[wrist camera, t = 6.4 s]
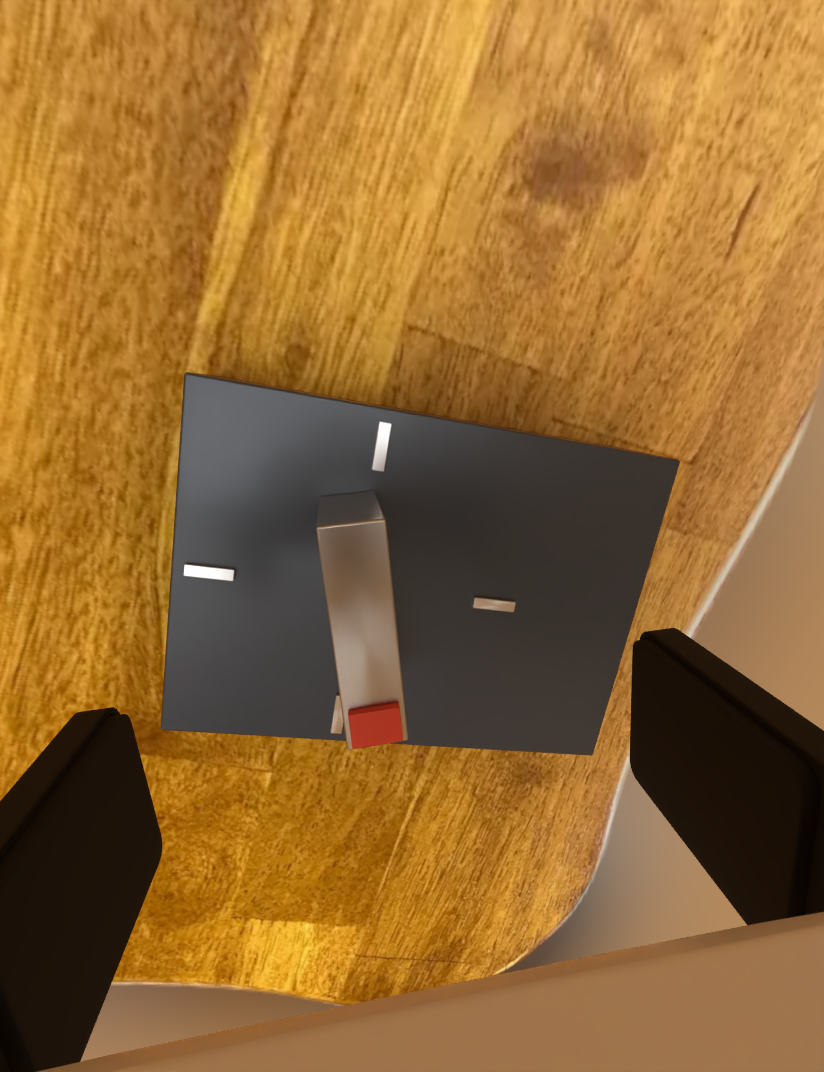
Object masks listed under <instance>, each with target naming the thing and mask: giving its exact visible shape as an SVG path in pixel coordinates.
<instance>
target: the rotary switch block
mask: <svg viewBox="0 0 824 1072" xmlns="http://www.w3.org/2000/svg"><path fill="white" fill-rule="evenodd" d="M679 463H680V461H679V460H677V459H672V458H667V457H662V456H657V455H652V454H647V453H642V452H637V451H632V450H627V449H623V448H617V447H611V446H606V445H600V444H595V443H589V442H583V441H578V440H572V439H566V438H561V437H555V436H550V435H544V434H538V433H533V432H527V431H522V430H516V429H510V428H505V427H499V426H494V425H488V424H482V423H477V422H471V421H466V420H460V419H454V418H449V417H443V416H438V415H432V414H426V413H421V412H415V411H410V410H404V409H398V408H393V407H387V406H382V405H376V404H370V403H365V402H359V401H354V400H348V399H342V398H337V397H331V396H326V395H320V394H314V393H309V392H303V391H298V390H292V389H286V388H281V387H275V386H270V385H264V384H258V383H253V382H247V381H242V380H236V379H230V378H225V377H219V376H213V375H205V374H197V373H189V372H187V373H185V375H184V388H183V403H182V418H181V432H180V447H179V462H178V477H177V492H176V507H175V522H174V537H173V552H172V567H171V581H170V596H169V611H168V626H167V641H166V656H165V671H164V686H163V701H162V716H161V729H162V730H175V731H191V732H208V733H225V734H241V735H258V736H275V737H292V738H308V739H325V740H342V741H346V737H345V730H344V723H343V716H342V709H341V702H340V695H339V688H338V680H337V673H336V666H335V659H334V652H333V645H332V638H331V631H330V624H329V617H328V610H327V603H326V595H325V588H324V581H323V574H322V567H321V560H320V553H319V546H318V539H317V532H316V526H317V518H318V510H319V502H320V497H323V496H332V495H341V494H350V493H359V492H368V491H374V492H375V495H376V497H377V500H378V502H379V505H380V507H381V510H382V512H383V515H384V517H385V520H386V526H387V536H388V545H389V555H390V565H391V575H392V584H393V594H394V604H395V614H396V624H397V633H398V643H399V653H400V663H401V672H402V682H403V692H404V702H405V712H406V721H407V731H408V740H406V741H400V742H394V743H392V744H408V745H425V746H442V747H459V748H475V749H492V750H509V751H525V752H542V753H559V754H575V755H593V752H594V748H595V745H596V742H597V738H598V735H599V732H600V728H601V725H602V722H603V718H604V715H605V711H606V708H607V705H608V701H609V698H610V695H611V691H612V688H613V685H614V681H615V678H616V675H617V671H618V668H619V664H620V661H621V658H622V654H623V651H624V648H625V644H626V641H627V638H628V634H629V631H630V628H631V624H632V621H633V617H634V614H635V611H636V607H637V604H638V601H639V597H640V594H641V591H642V587H643V584H644V581H645V577H646V574H647V570H648V567H649V564H650V560H651V557H652V554H653V550H654V547H655V544H656V540H657V537H658V534H659V530H660V527H661V524H662V520H663V517H664V513H665V510H666V507H667V503H668V500H669V497H670V493H671V490H672V487H673V483H674V480H675V477H676V473H677V470H678V466H679Z"/></svg>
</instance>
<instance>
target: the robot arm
mask: <svg viewBox="0 0 824 1072" xmlns="http://www.w3.org/2000/svg"><path fill="white" fill-rule="evenodd" d="M630 764H631V768H632V772H633V774H634V776H635V778H636V780H637V781H638V782H639V784H640V785H641V786H642V788H643V789H644V790H645V792H646V793H647V794H648V796H649V797H650V798H651V800H652V801H653V802H654V803H655V805H656V806H657V807H658V808H659V810H660V811H661V812H662V814H663V815H664V817H666V819H667V820H668V822H669V823H670V824H671V826H672V827H673V828H674V830H675V831H676V832H677V833H678V835H679V836H680V837H681V839H682V840H683V841H684V842H685V844H686V845H687V847H688V848H689V849H690V850H691V852H692V853H693V854H694V856H695V857H696V858H697V860H698V861H699V862H700V864H701V865H702V866H703V868H704V869H705V870H706V872H707V873H708V874H709V875H710V877H711V878H712V879H713V881H714V882H715V883H716V884H717V886H718V887H719V889H720V890H721V891H722V892H723V894H724V895H725V896H726V898H727V899H728V900H729V902H730V903H731V904H732V905H733V907H734V908H735V909H736V911H737V912H738V913H739V915H740V916H741V917H742V918H743V920H744V921H745V923H746V924H747V926H742V927H737V928H732V929H727V930H722V931H716V932H711V933H706V934H701V935H696V936H691V937H686V938H681V939H676V940H671V941H665V942H660V943H655V944H650V945H645V946H640V947H635V948H630V949H624V950H619V951H614V952H609V953H604V954H599V955H594V956H589V957H584V958H579V959H574V960H569V961H563V962H559V963H554V964H549V965H544V966H539V967H534V968H529V969H524V970H519V971H514V972H509V973H504V974H499V975H494V976H489V977H484V978H479V979H474V980H469V981H464V982H459V983H454V984H449V985H445V986H440V987H435V988H430V989H425V990H420V991H415V992H410V993H405V994H400V995H396V996H391V997H386V998H381V999H376V1000H371V1001H366V1002H361V1003H356V1004H351V1005H347V1006H342V1007H337V1008H332V1009H327V1010H322V1011H317V1012H313V1013H308V1014H303V1015H298V1016H294V1017H289V1018H284V1019H280V1020H275V1021H270V1022H265V1023H260V1024H255V1025H251V1026H246V1027H242V1028H236V1029H232V1030H227V1031H222V1032H217V1033H212V1034H208V1035H203V1036H198V1037H193V1038H189V1039H184V1040H179V1041H174V1042H170V1043H165V1044H161V1045H156V1046H150V1047H146V1048H141V1049H136V1050H132V1051H127V1052H122V1053H117V1054H113V1055H108V1056H104V1057H99V1058H95V1059H91V1060H86V1061H82V1062H80V1061H81V1058H82V1056H83V1053H84V1050H85V1048H86V1045H87V1043H88V1040H89V1038H90V1035H91V1033H92V1030H93V1028H94V1025H95V1023H96V1020H97V1018H98V1015H99V1013H100V1010H101V1008H102V1005H103V1003H104V1000H105V998H106V995H107V993H108V990H109V988H110V985H111V983H112V980H113V978H114V975H115V973H116V970H117V968H118V965H119V962H120V960H121V957H122V955H123V952H124V950H125V947H126V945H127V942H128V940H129V937H130V935H131V932H132V930H133V927H134V925H135V922H136V920H137V917H138V915H139V912H140V910H141V907H142V905H143V902H144V900H145V897H146V895H147V892H148V890H149V887H150V885H151V882H152V880H153V877H154V875H155V872H156V869H157V867H158V864H159V862H160V858H161V853H162V837H161V833H160V829H159V825H158V822H157V818H156V814H155V810H154V806H153V803H152V799H151V795H150V791H149V787H148V784H147V780H146V776H145V772H144V769H143V765H142V761H141V757H140V753H139V750H138V746H137V742H136V738H135V734H134V731H133V727H132V723H131V720H130V718H129V716H128V715H126V714H122V715H120V713H119V712H118V710H117V709H115V708H113V707H112V708H105V709H98V710H91V711H83V712H78V713H76V714H75V715H74V716H73V717H72V718H71V719H70V720H69V721H68V722H67V724H66V725H65V726H64V727H63V728H62V729H61V731H60V732H59V733H58V734H57V735H56V737H55V738H54V739H53V740H52V741H51V742H50V744H49V745H48V746H47V747H46V748H45V749H44V751H43V752H42V753H41V754H40V755H39V757H38V758H37V759H36V760H35V761H34V762H33V764H32V765H31V766H30V767H29V768H28V769H27V771H26V772H25V773H24V774H23V775H22V776H21V778H20V779H19V780H18V781H17V782H16V784H15V785H14V786H13V787H12V788H11V789H10V791H9V792H8V793H7V794H6V795H5V796H4V798H3V799H2V800H1V801H0V1072H824V731H823V730H822V729H820V728H819V727H817V726H816V725H814V724H813V723H812V722H810V721H808V720H807V719H806V718H804V717H803V716H801V715H800V714H799V713H797V712H795V711H794V710H793V709H791V708H790V707H788V706H787V705H786V704H784V703H783V702H781V701H780V700H778V699H777V698H776V697H774V696H773V695H771V694H770V693H768V692H767V691H765V690H764V689H763V688H761V687H760V686H758V685H757V684H755V683H754V682H753V681H751V680H750V679H748V678H747V677H745V676H744V675H743V674H741V673H740V672H738V671H737V670H735V669H734V668H732V667H731V666H730V665H728V664H727V663H725V662H724V661H722V660H721V659H720V658H718V657H717V656H715V655H714V654H712V653H711V652H710V651H708V650H706V649H705V648H704V647H702V646H701V645H699V644H698V643H696V642H695V641H694V640H692V639H691V638H689V637H688V636H687V635H685V634H684V633H682V632H681V631H679V630H678V629H675V628H669V629H662V630H655V631H648V632H644V633H643V634H642V635H641V637H640V640H638V641H636V642H634V645H633V655H632V693H631V730H630Z"/></svg>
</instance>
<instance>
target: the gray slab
mask: <svg viewBox="0 0 824 1072" xmlns="http://www.w3.org/2000/svg"><path fill="white" fill-rule="evenodd" d="M316 532H317V539H318V546H319V553H320V560H321V567H322V574H323V581H324V588H325V595H326V603H327V610H328V617H329V624H330V631H331V638H332V645H333V652H334V659H335V666H336V673H337V680H338V688H339V695H340V702H341V709H342V716H343V723H344V730H345V737H346V744H347V749H348V750H352V749H358V748H364V747H370V746H376V745H382V744H388V743H394V742H400V741H406V740H408V731H407V721H406V712H405V702H404V692H403V682H402V672H401V663H400V653H399V643H398V633H397V624H396V614H395V604H394V594H393V584H392V575H391V565H390V555H389V545H388V536H387V526H386V520H385V517H384V515H383V512H382V510H381V507H380V505H379V502H378V500H377V497H376V495H375V492H374V491H368V492H359V493H350V494H341V495H332V496H323V497H320V502H319V510H318V518H317V526H316Z"/></svg>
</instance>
